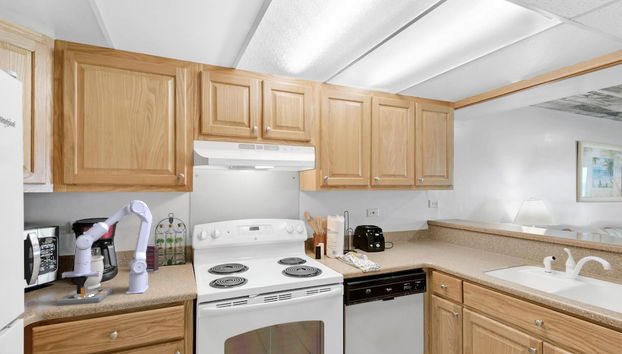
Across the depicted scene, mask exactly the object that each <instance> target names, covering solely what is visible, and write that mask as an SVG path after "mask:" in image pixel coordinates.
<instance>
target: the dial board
mask: <svg viewBox="0 0 622 354" xmlns="http://www.w3.org/2000/svg"><path fill="white" fill-rule="evenodd" d="M88 290H98V291H99V294H97V295H96V296H94V297H90V298H74V295H75V294H77V289H74V290H73V291H71V292H69V293H67V294H66V295H64V296H63V297H61V298H58V299H57V300H56V306H57V307H58V306H62V307H63V306H73V305H75V306H76V305H89V304H99V303H101V302H102V301H103V300H105V299H106V298H107V297H109V296H110V295H111V294H113V287H107V288H106V287H104V288H95V289H88Z"/></svg>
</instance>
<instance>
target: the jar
mask: <svg viewBox="0 0 622 354" xmlns="http://www.w3.org/2000/svg"><path fill="white" fill-rule="evenodd" d="M104 258H105V257H104V255H91V265H90V271H101V276H99V277H96V276H93V277H88V278H87V280H86V282H85V283H84V285H88V289H99V288H100V287H101V286H102V284H101V282H102V279H103V273H104V270H105V269H104V261H103V260H104Z"/></svg>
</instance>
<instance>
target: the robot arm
mask: <svg viewBox="0 0 622 354" xmlns="http://www.w3.org/2000/svg"><path fill="white" fill-rule="evenodd" d="M132 214H135V215H136V216H137V217H138V218H139V220H140V224H139V230H138V233H137V239H136V242H135V243H136V245H135V248H134V253H133V255H132V258H131V259H130V261H129V264H128V265H129V266H128V267H129V268H130V271H129V272H128V278H129V279H128V290H127V291H126V292H125V295H129V294H143V293H146V291H147V290H148V289H149V288H150V287H151V285H149V273H147V272H146V267H147V264H146V249H147V245H149V244H148V242H149V238H150V233H151V227H152V224H153V223H152V222H153V215H152V213H151V211H150V209H149V207H148V205H147V204H146V203H145V202H144V201H141V200H138V199H134V200H132V201H130V202H129V203H127V204H125V205H123V206H122V207H121V208H119V209H118V210H117V211H116V212H114V213H113V214H112V215H111V216H110V217H108V218H106V219H105V221H99V222H97V223H96V222H94V224H93V225H92V227H90V228H89V229H88V230H87V231H83V232H82V233H83V234H81V235H79V236H78V237H77V238H76V240H75V245H76V246H75V247H76V248H75V252H74V253H75V254H74V265H73V266H74V268H73V271H64V272H63V273H61V279H64V278H73V282H74V283H75V285H76V290H77V294H81V287H83V286H84V283H85V282H86V280H87V278H88V277H93V276H96V277H99V276H101V271H90V265H91V256H92V245H93V244H94V242H96V241H97V240H99V239H100V238H101V237H103V236H104V235H106V234H107V233H108V232H109V229H110V227H111V226H112V225H114V224H115V223H116V222H118V221H119V220H121V219H122V218H123V217H125V216H130V215H131V216H132Z"/></svg>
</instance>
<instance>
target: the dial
mask: <svg viewBox="0 0 622 354" xmlns="http://www.w3.org/2000/svg"><path fill="white" fill-rule="evenodd" d="M97 294H99V291H98V290H88V285H84V286H83V287H81V294H75V295H74V298H90V297H94V296H96V295H97Z"/></svg>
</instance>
